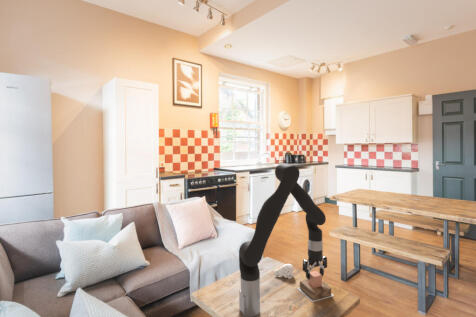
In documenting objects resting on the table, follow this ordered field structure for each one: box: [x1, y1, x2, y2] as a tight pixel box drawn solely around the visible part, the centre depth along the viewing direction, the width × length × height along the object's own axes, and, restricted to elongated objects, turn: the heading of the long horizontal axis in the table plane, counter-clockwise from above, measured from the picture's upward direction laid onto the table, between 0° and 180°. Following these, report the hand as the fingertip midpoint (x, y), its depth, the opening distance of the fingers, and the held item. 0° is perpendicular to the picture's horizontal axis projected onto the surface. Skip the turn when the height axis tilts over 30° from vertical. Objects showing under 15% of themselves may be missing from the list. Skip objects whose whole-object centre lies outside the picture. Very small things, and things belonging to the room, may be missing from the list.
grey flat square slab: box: [296, 286, 335, 303], centre depth 140 cm, size 14×14×1 cm
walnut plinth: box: [299, 279, 332, 300], centre depth 140 cm, size 11×12×4 cm
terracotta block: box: [307, 270, 323, 288], centre depth 140 cm, size 5×5×6 cm
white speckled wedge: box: [273, 263, 294, 280], centre depth 157 cm, size 6×8×12 cm
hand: (314, 277), depth 140 cm, fingers open, 8 cm apart
